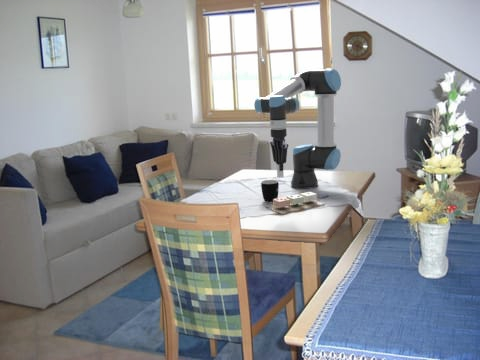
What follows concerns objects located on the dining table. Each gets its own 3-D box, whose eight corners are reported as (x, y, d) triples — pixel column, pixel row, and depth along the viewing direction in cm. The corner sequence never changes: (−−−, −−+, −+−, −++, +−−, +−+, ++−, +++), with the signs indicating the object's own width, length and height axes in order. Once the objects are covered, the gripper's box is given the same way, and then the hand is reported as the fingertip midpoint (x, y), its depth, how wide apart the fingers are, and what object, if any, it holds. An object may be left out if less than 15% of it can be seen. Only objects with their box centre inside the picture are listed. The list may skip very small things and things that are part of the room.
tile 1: (310, 197, 286) (309, 191, 285) (317, 199, 280) (316, 193, 280) (300, 199, 283) (300, 193, 282) (307, 201, 278) (306, 195, 277)
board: (308, 199, 290) (308, 198, 290) (324, 204, 278) (324, 203, 278) (266, 207, 279) (266, 206, 279) (281, 214, 267) (281, 213, 267)
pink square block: (283, 202, 278) (283, 196, 278) (290, 205, 273) (289, 199, 273) (273, 205, 276) (272, 198, 275) (279, 207, 271) (279, 201, 270)
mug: (279, 202, 287) (278, 183, 285) (262, 203, 287) (261, 184, 285) (278, 196, 299) (277, 178, 296) (261, 197, 299) (260, 178, 297)
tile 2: (297, 200, 282) (296, 193, 281) (303, 202, 277) (303, 196, 276) (286, 202, 279) (286, 196, 279) (293, 204, 274) (293, 198, 273)
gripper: (264, 128, 270) (266, 175, 275) (279, 130, 259) (281, 180, 264) (277, 126, 273) (279, 173, 279) (292, 128, 262) (294, 178, 267)
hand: (280, 176), depth 271 cm, fingers closed
